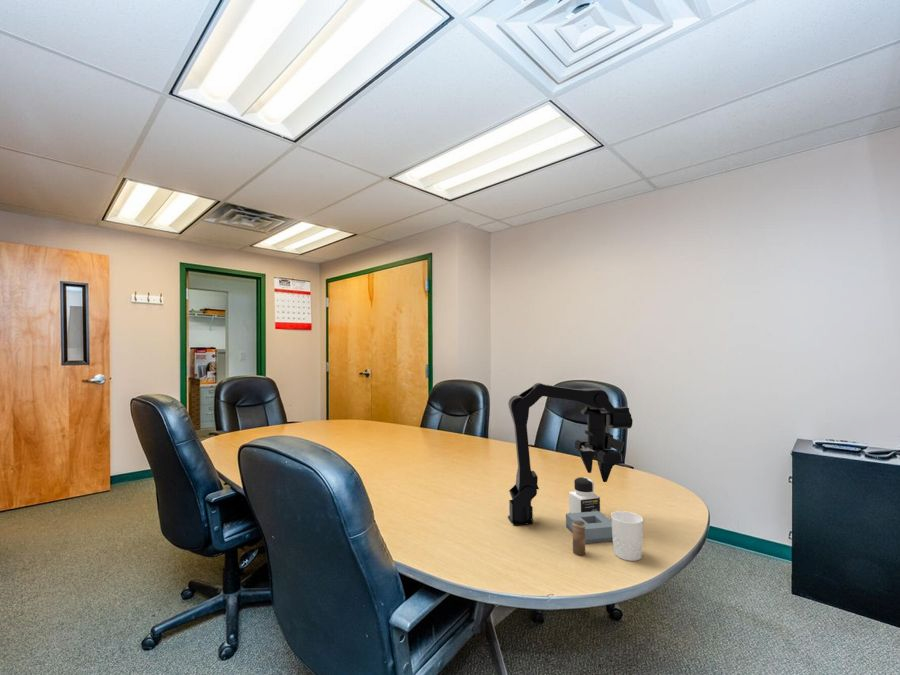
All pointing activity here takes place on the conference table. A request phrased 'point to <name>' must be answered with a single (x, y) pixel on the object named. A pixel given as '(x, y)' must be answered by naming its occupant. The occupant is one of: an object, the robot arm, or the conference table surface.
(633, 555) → the white cup
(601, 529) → the socket block
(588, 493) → the medicine bottle
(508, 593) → the conference table surface
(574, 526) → the pin
